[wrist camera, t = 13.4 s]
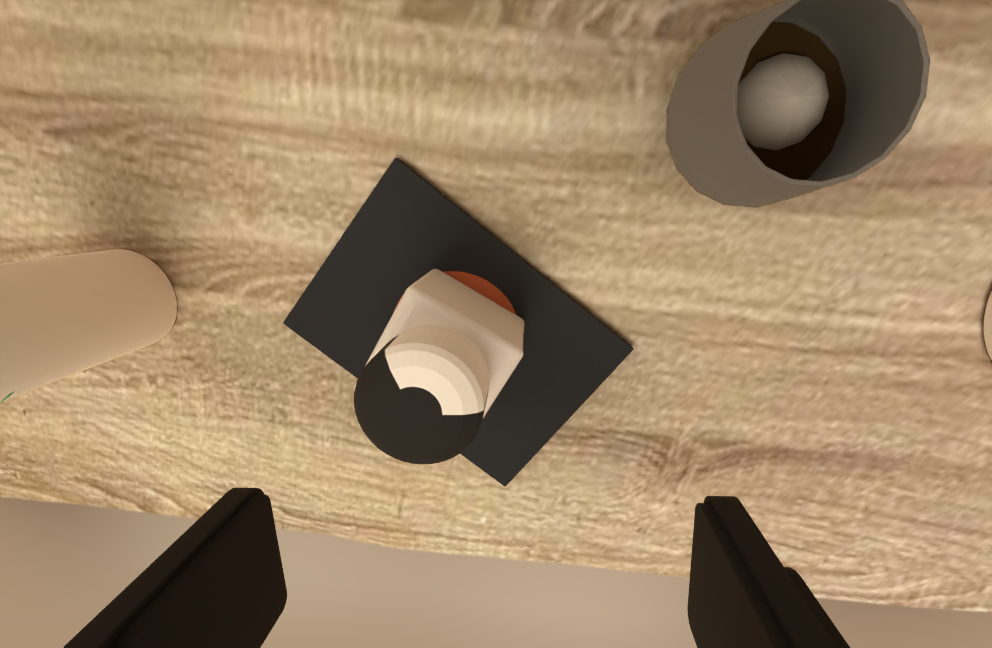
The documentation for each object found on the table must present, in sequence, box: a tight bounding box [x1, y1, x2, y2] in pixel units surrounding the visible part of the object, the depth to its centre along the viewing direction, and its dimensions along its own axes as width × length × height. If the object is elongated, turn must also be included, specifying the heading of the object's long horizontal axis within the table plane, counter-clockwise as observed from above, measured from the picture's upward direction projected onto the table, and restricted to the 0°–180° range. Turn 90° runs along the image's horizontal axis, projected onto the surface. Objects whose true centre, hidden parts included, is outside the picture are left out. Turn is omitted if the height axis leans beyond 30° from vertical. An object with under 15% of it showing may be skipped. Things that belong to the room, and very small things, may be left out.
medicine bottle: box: [354, 269, 525, 464], centre depth 27 cm, size 7×7×12 cm
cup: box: [667, 0, 930, 207], centre depth 24 cm, size 10×9×10 cm
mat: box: [284, 158, 633, 486], centre depth 33 cm, size 20×14×1 cm
